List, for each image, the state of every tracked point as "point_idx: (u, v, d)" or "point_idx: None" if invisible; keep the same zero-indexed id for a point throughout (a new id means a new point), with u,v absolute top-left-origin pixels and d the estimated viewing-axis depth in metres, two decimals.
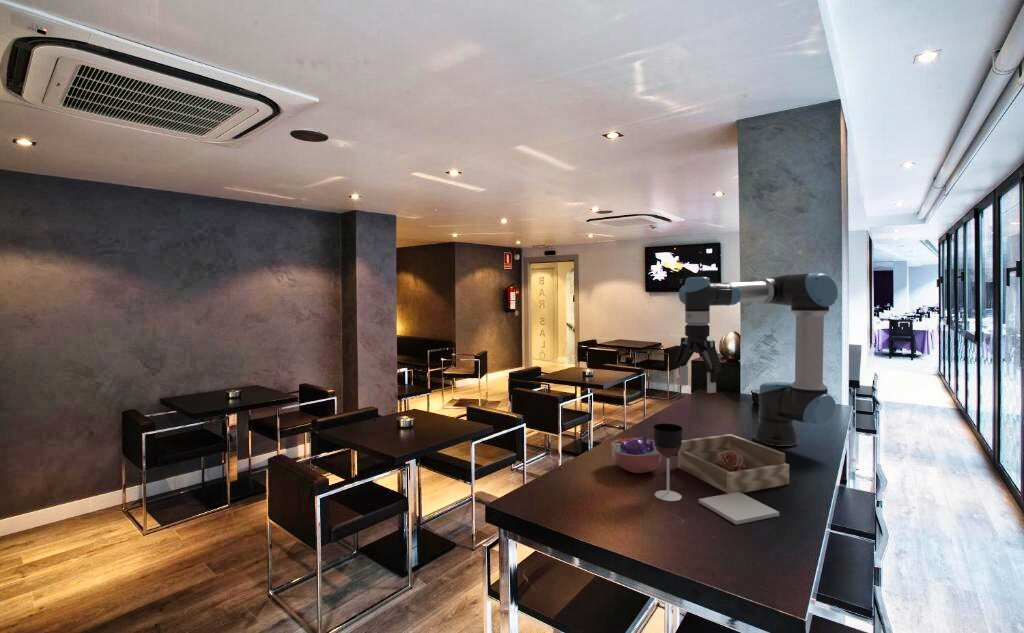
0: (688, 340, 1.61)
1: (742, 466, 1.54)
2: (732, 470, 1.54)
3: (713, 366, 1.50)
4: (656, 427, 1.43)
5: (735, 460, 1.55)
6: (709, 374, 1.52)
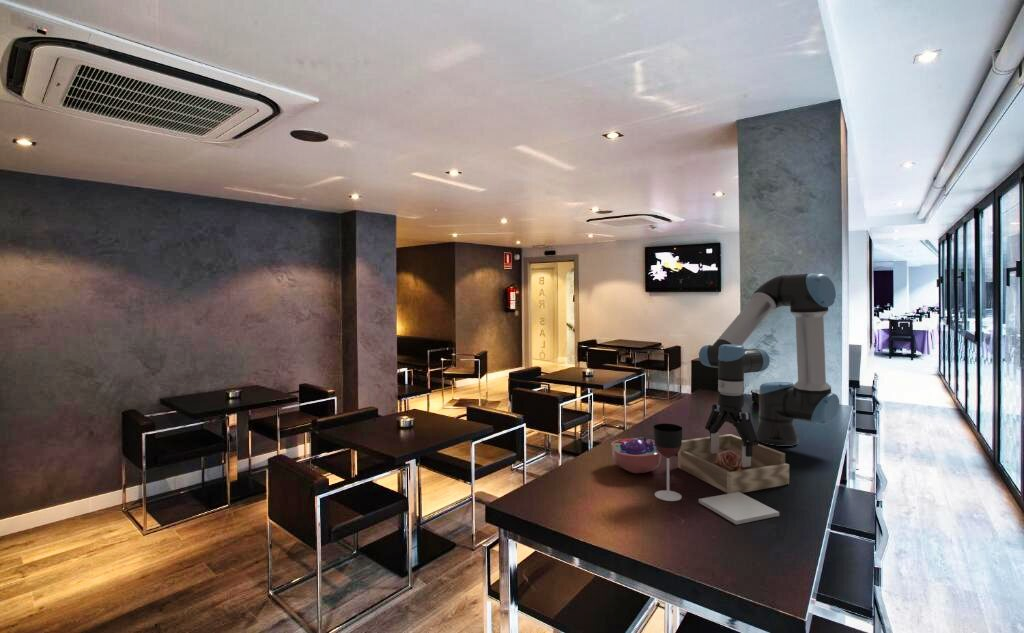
0: (721, 408, 1.57)
1: None
2: (732, 470, 1.54)
3: (749, 440, 1.46)
4: (656, 427, 1.43)
5: (735, 460, 1.55)
6: (744, 447, 1.48)
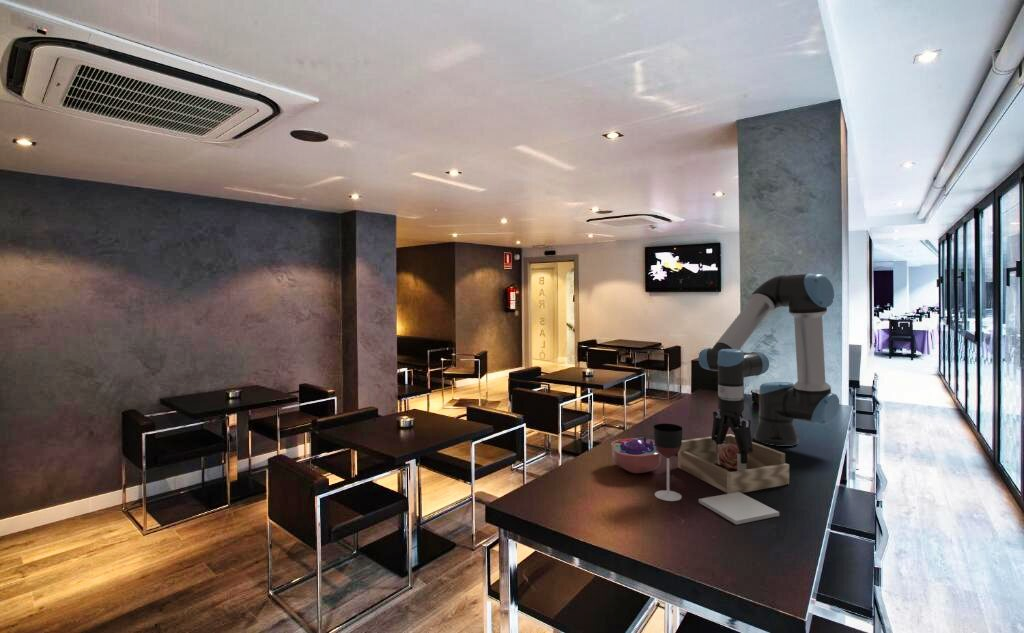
0: (721, 413, 1.57)
1: None
2: (734, 464, 1.54)
3: (744, 448, 1.48)
4: (656, 427, 1.43)
5: (736, 454, 1.55)
6: (739, 455, 1.51)
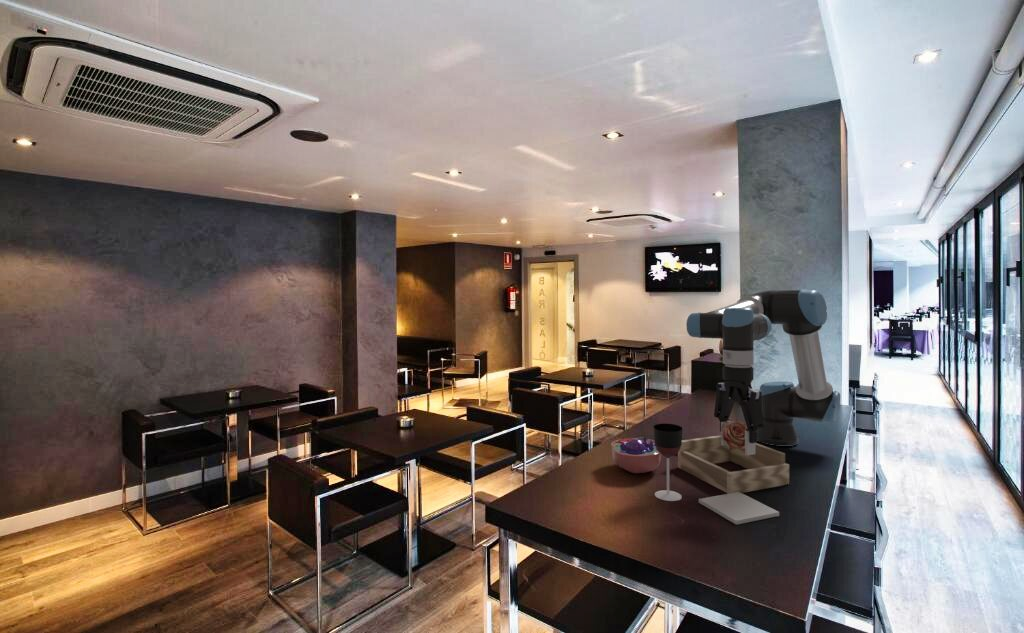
0: (726, 384, 1.33)
1: None
2: (740, 444, 1.30)
3: (754, 424, 1.23)
4: (656, 427, 1.43)
5: (744, 432, 1.30)
6: (747, 432, 1.26)
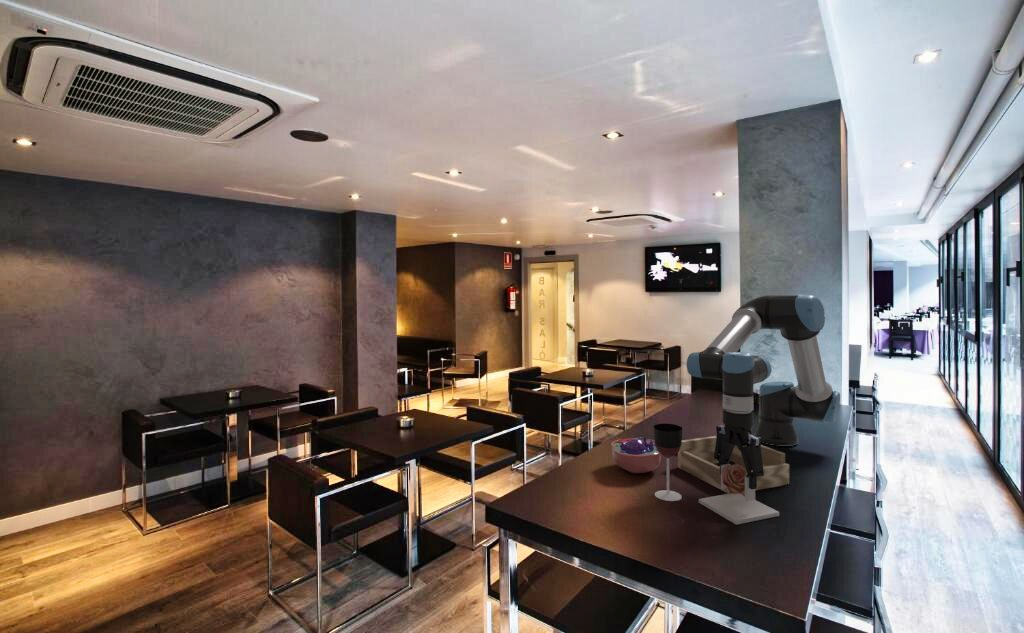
0: (726, 428, 1.33)
1: None
2: (740, 488, 1.30)
3: (754, 470, 1.24)
4: (656, 427, 1.43)
5: (743, 476, 1.30)
6: (747, 478, 1.26)
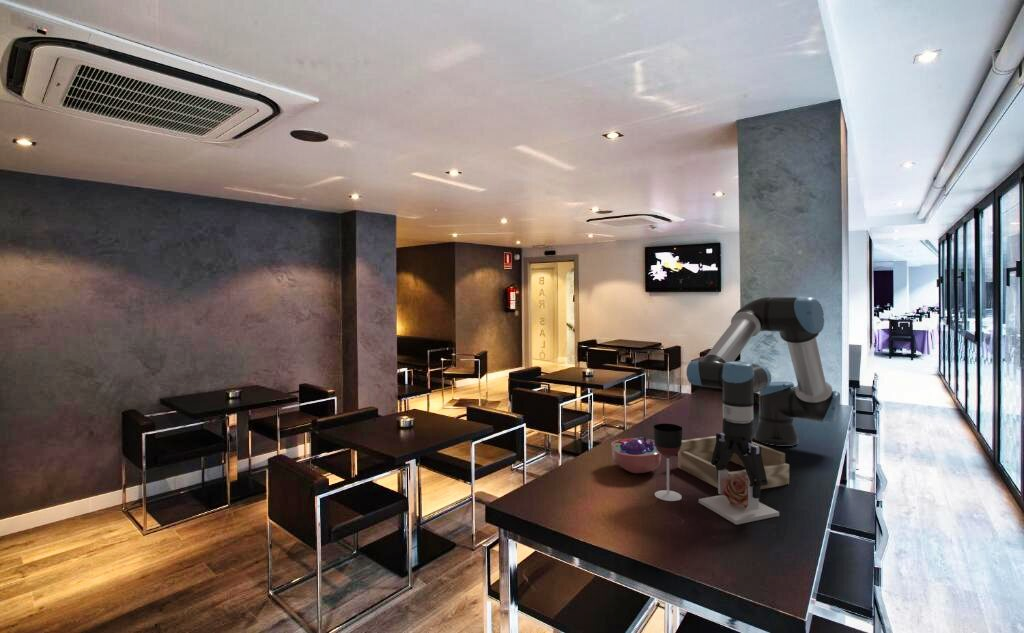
0: (726, 437, 1.33)
1: None
2: (740, 499, 1.30)
3: (757, 480, 1.23)
4: (656, 427, 1.43)
5: (744, 487, 1.31)
6: (751, 487, 1.25)
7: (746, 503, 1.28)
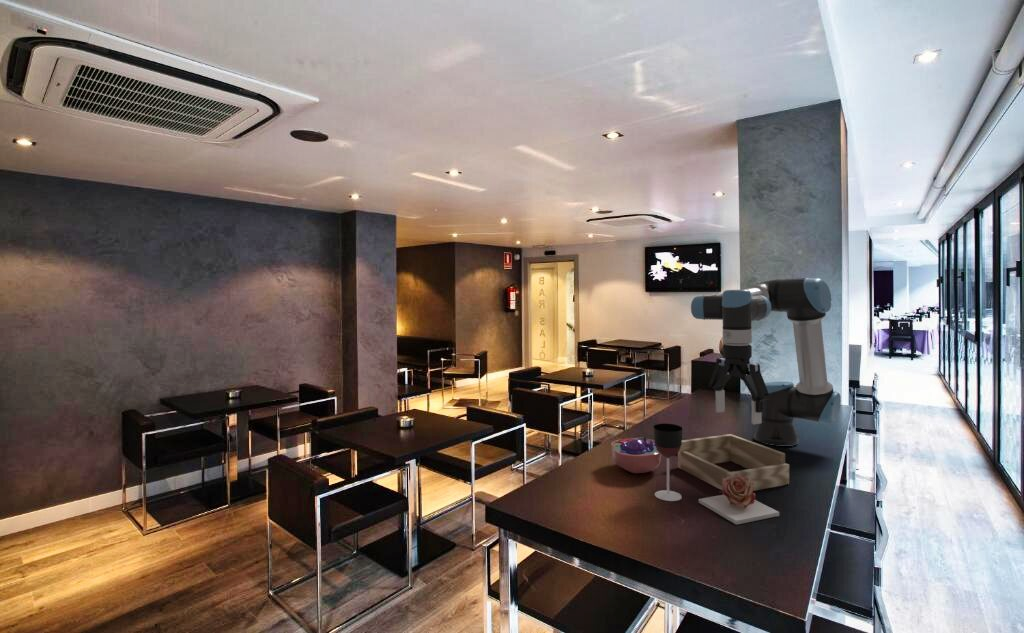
0: (726, 362, 1.41)
1: (752, 494, 1.31)
2: (740, 499, 1.30)
3: (759, 394, 1.30)
4: (656, 427, 1.43)
5: (744, 487, 1.31)
6: (754, 403, 1.32)
7: (746, 503, 1.28)
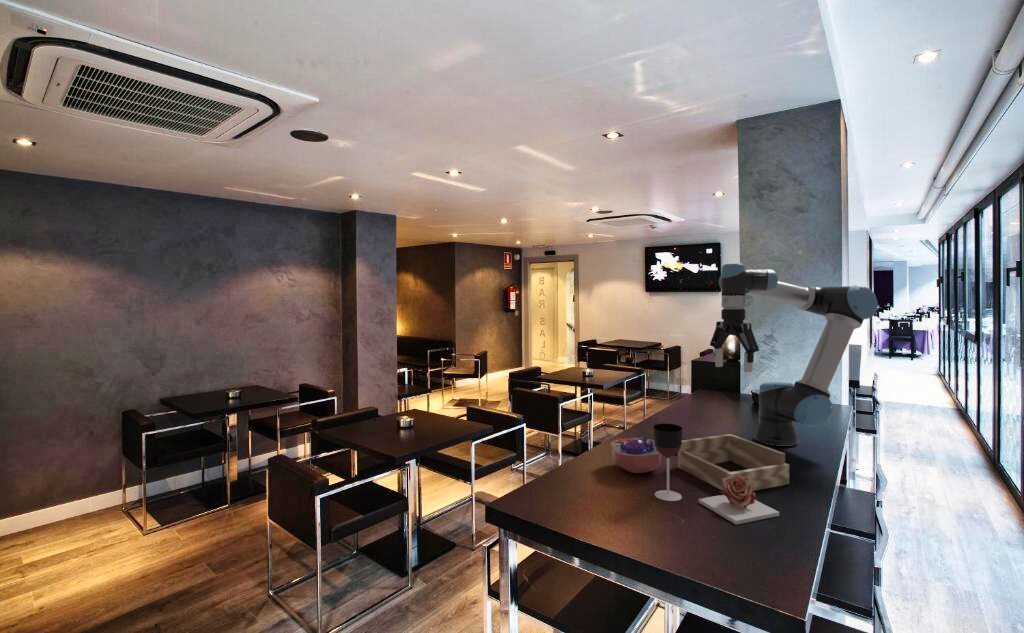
0: (724, 323, 1.71)
1: (752, 494, 1.31)
2: (740, 499, 1.30)
3: (750, 347, 1.60)
4: (656, 427, 1.43)
5: (744, 487, 1.31)
6: (746, 354, 1.62)
7: (746, 503, 1.28)
